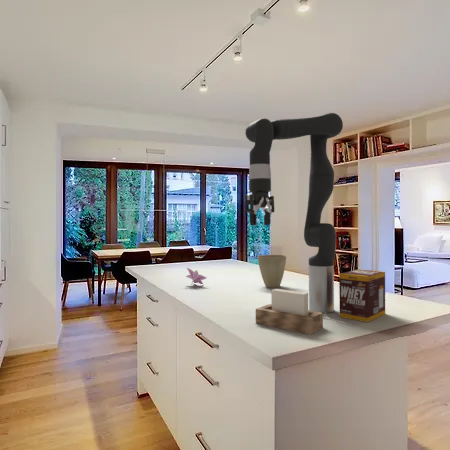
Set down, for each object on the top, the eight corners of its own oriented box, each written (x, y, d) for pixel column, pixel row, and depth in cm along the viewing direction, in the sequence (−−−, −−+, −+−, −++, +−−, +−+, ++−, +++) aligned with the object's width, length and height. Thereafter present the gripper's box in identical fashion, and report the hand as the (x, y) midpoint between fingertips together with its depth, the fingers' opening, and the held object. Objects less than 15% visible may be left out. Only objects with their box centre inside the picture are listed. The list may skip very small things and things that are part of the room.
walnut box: (255, 322, 122) (255, 308, 121) (270, 317, 128) (270, 303, 128) (309, 334, 109) (309, 318, 109) (322, 327, 116) (322, 312, 115)
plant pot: (285, 283, 194) (285, 254, 194) (287, 289, 179) (287, 257, 179) (257, 283, 196) (257, 254, 195) (257, 289, 181) (257, 257, 181)
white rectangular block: (271, 319, 121) (271, 290, 121) (276, 317, 123) (276, 288, 123) (304, 326, 113) (303, 294, 113) (308, 324, 115) (308, 293, 115)
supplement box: (338, 317, 128) (338, 273, 128) (358, 309, 139) (358, 268, 138) (367, 322, 120) (367, 276, 120) (385, 313, 131) (385, 271, 131)
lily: (207, 289, 186) (211, 272, 191) (188, 282, 181) (192, 265, 186) (196, 293, 196) (200, 276, 200) (177, 286, 191) (181, 270, 195)
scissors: (319, 310, 137) (362, 322, 119) (319, 312, 137) (362, 325, 119) (297, 314, 132) (338, 327, 114) (297, 316, 132) (338, 330, 114)
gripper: (256, 175, 117) (257, 225, 117) (280, 179, 128) (280, 224, 128) (238, 177, 122) (239, 225, 122) (262, 180, 133) (263, 224, 133)
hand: (260, 225), depth 125 cm, fingers open, 8 cm apart
